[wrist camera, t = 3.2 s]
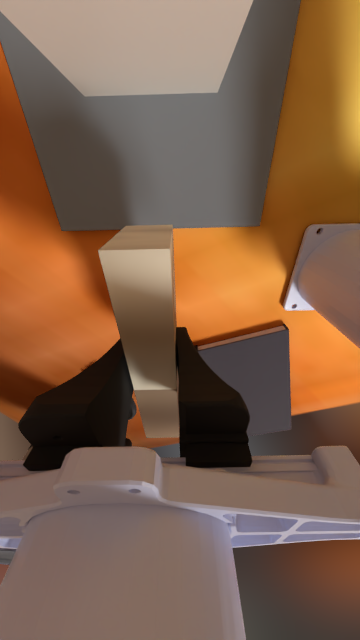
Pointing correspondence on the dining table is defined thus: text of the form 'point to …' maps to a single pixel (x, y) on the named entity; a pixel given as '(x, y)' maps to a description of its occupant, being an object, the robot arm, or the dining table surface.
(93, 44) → the tile
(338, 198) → the dining table surface
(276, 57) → the slate mat
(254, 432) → the notebook
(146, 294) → the long wooden beam
